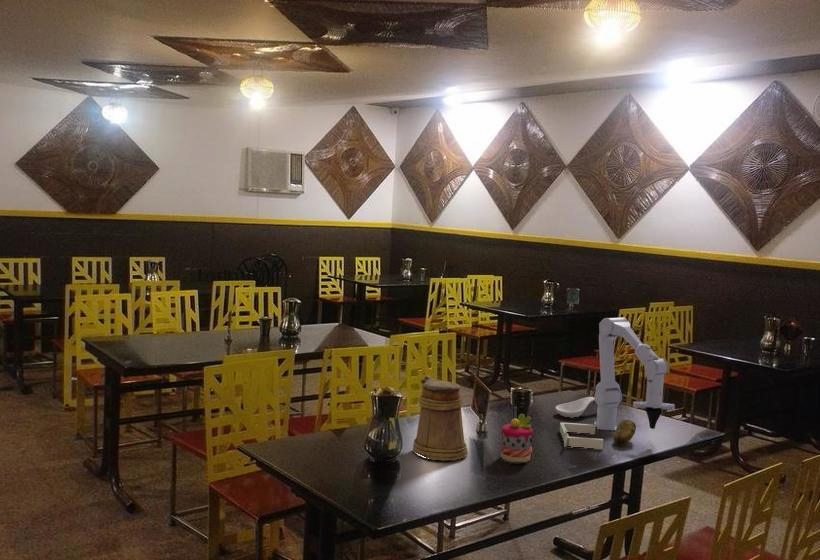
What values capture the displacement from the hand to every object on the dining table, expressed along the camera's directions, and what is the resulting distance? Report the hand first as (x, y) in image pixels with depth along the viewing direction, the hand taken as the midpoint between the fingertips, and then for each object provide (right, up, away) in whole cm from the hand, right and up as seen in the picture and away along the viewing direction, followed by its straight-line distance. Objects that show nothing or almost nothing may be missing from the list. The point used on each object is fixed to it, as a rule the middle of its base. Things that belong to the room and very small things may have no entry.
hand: (652, 427), depth 275 cm
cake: (-53, -7, -22) cm, 58 cm away
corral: (-25, -5, +3) cm, 26 cm away
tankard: (-80, -5, -18) cm, 82 cm away
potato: (-10, -6, +1) cm, 12 cm away
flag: (-34, -6, -9) cm, 35 cm away
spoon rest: (-18, -3, +38) cm, 42 cm away
